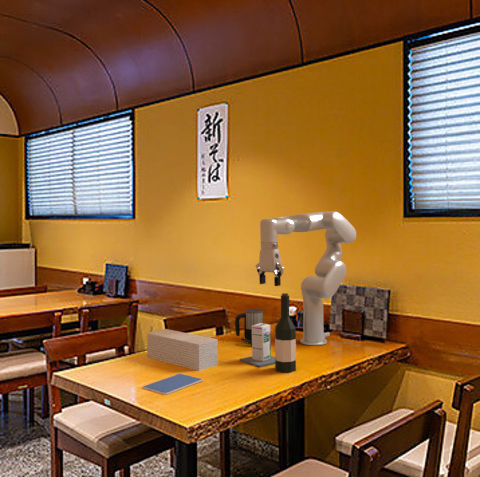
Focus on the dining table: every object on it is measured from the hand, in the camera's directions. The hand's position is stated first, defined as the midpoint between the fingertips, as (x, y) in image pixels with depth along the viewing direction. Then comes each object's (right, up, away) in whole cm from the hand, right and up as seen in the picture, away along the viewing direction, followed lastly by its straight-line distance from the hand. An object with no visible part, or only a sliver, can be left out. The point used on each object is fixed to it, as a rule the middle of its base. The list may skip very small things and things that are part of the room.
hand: (269, 284), depth 231 cm
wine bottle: (+5, -31, -27) cm, 42 cm away
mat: (-4, -31, -15) cm, 34 cm away
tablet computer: (-37, -33, -44) cm, 66 cm away
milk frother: (-7, -30, +18) cm, 35 cm away
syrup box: (-4, -30, -15) cm, 34 cm away
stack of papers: (-38, -31, -13) cm, 51 cm away
